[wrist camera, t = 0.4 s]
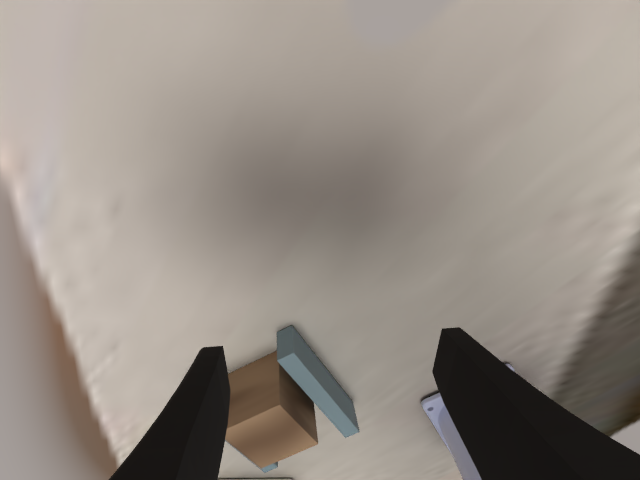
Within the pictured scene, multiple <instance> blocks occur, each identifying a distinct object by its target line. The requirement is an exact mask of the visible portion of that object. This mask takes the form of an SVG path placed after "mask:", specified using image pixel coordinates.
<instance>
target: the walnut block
mask: <svg viewBox="0 0 640 480" xmlns="http://www.w3.org/2000/svg"><path fill="white" fill-rule="evenodd" d="M228 378H229V384H230V390H231V392H230V405H229V417H228V426H227V431H226V437H225V440H226V441H227V442H228V443H230V444H231V445H232V446H233V447H234V448H236V449H237V450H238V451H239V452H241V453H242V454H243V455H244V456H246V457H247V458H248V459H249V460H251V461H252V462H253V463H254V464H256V465H257V466H258V467H259V468H260V469H262V468H264V467H266V466H268V465H271V464H273V463H275V462H278V461H280V460H282V459H285V458H287V457H289V456H292V455H294V454H296V453H298V452H301V451H303V450H305V449H308V448H310V447H312V446H315V445H317V444H318V438H317V429H316V420H315V411H314V402H313V401H312V400H311V398H310V397H309V396H308V395H307V394H306V393H305V392H304V391H303V389H302V388H301V387H300V386H299V385H298V384H297V383H296V381H295V380H294V379H293V378H292V377H291V376H290V375H289V374H288V372H287V371H286V370H285V369H284V368H283V367H282V366H281V365H280V363H279V362H278V361H277V351H275V352H273V353H271V354H269V355H267V356H265V357H262V358H260V359H258V360H256V361H254V362H252V363H250V364H248V365H246V366H244V367H242V368H240V369H238V370H236V371H234V372H231V373H229V374H228Z"/></svg>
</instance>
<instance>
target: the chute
mask: <svg viewBox="0 0 640 480" xmlns="http://www.w3.org/2000/svg"><path fill="white" fill-rule="evenodd" d="M277 361H278V362H279V363H280V365H281V366H282V367H283V368H284V369H285V370H286V371H287V372H288V374H289V375H290V376H291V377H292V378H293V379H294V380H295V381H296V383H297V384H298V385H299V386H300V387H301V388H302V389H303V391H304V392H305V393H306V394H307V395H308V396H309V397H310V398H311V400H312V401H313V402H314V403H315V404H316V405H317V406H318V407H319V409H320V410H321V411H322V412H323V413H324V414H325V415H326V416H327V418H328V419H329V420H330V421H331V422H332V423H333V424H334V425H335V427H336V428H337V429H338V430H339V431H340V432H341V433H342V434H343V436H344V437H345V438H346V437H349V436H351V435H353V434H355V433H358V432H359V427H358V423H357V418H356V414H355V409H354V405H353V402H352V401H351V399H350V398H349V397H348V396H347V394H346V393H345V392H344V391H343V389H342V388H341V387H340V385H339V384H338V383H337V382H336V380H335V379H334V378H333V377H332V375H331V374H330V373H329V372H328V370H327V369H326V368H325V366H324V365H323V364H322V363H321V361H320V360H319V359H318V358H317V356H316V355H315V354H314V353H313V351H312V350H311V349H310V347H309V346H308V345H307V344H306V342H305V341H304V340H303V339H302V337H301V336H300V335H299V333H298V332H297V331H296V330H295V328H294V327H293V326H292V325H291V326H289V327H287V328H285V329H283V330H281V331H279V332H277ZM225 441H226V440H225ZM226 442H227V441H226ZM227 443H228V442H227ZM229 444H230V443H229ZM230 445H231V444H230ZM231 446H232V445H231ZM232 447H233V446H232ZM235 449H236V448H235ZM236 450H237V449H236ZM237 451H238V450H237ZM238 452H239V451H238ZM240 453H241V452H240ZM241 454H242V453H241ZM242 455H243V454H242ZM243 456H244V455H243ZM245 457H246V456H245ZM246 458H247V457H246ZM247 459H248V458H247ZM248 460H249V459H248ZM250 461H251V460H250ZM251 462H252V461H251ZM252 463H253V462H252ZM253 464H254V463H253ZM255 465H256V464H255ZM256 466H257V465H256ZM257 467H258V466H257ZM277 467H278V462H275V463H273V464H271V465H268V466H266V467H264V468H262V469H261V470H262V471H263V472H264V473H265V472H268V471H270V470H272V469H275V468H277ZM258 468H259V467H258ZM259 469H260V468H259Z"/></svg>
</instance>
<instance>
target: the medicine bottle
mask: <svg viewBox="0 0 640 480" xmlns="http://www.w3.org/2000/svg"><path fill="white" fill-rule="evenodd" d="M219 480H292V479H219Z"/></svg>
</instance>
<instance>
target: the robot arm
mask: <svg viewBox="0 0 640 480" xmlns="http://www.w3.org/2000/svg"><path fill="white" fill-rule="evenodd" d="M432 372H433V375H434V378H435V381H436V384H437V387H438V389H439V392H440V393H437V394H435V395H433V396H431V397H428V398H426V399H424V400H423V401H422V402H421V405H422V407H423V409H424V411H425V412H426V414H427V415H428V417H429V419H430V420H431V422H432V423H433V425H434V427H435V428H436V430H437V432H438V433H439V435H440V436H441V438H442V440H443V441H444V443H445V444H446V446H447V448H448V449H449V451H450V453H451V454H452V455H453V458H454V460H455V462H456V464H457V467H458V469H459V471H460V473H461V476H462V478H463V480H640V455H639V454H637V453H636V452H634V451H632V450H631V449H629V448H627V447H625V446H624V445H622V444H620V443H618V442H617V441H615V440H613V439H612V438H610V437H608V436H607V435H605V434H603V433H602V432H600V431H598V430H597V429H595V428H594V427H592V426H590V425H589V424H587V423H586V422H584V421H583V420H581V419H580V418H578V417H576V416H575V415H573V414H572V413H570V412H569V411H567V410H566V409H564V408H563V407H561V406H560V405H558V404H557V403H556V402H554V401H553V400H551V399H550V398H549V397H547V396H546V395H544V394H543V393H542V392H540V391H539V390H538V389H536V388H535V387H533V386H532V385H531V384H529V383H528V382H527V381H525V380H524V379H523V378H522V377H520V376H519V375H518V374H516V373H515V371H514V368H513V367H512V366H511V364H504V363H503V362H501V361H500V360H499V359H498V358H496V357H495V356H494V355H493V354H491V353H490V352H489V351H488V350H487V349H485V348H484V347H483V346H482V345H480V344H479V343H478V342H477V341H476V340H474V339H473V338H472V337H471V336H470V335H468V334H467V333H466V332H465V331H463V330H462V329H461V328H459V327H458V328H446V329H442V331H441V335H440V340H439V344H438V349H437V353H436V358H435V362H434V367H433V371H432ZM230 392H231V390H230V384H229V378H228V372H227V367H226V361H225V355H224V350H223V346H217V347H204V348H202V349H201V350H200V351H199V353H198V355H197V357H196V358H195V360H194V362H193V364H192V365H191V367H190V369H189V370H188V372H187V374H186V375H185V377H184V379H183V380H182V382H181V383H180V385H179V387H178V388H177V390H176V391H175V393H174V394H173V396H172V397H171V399H170V400H169V402H168V403H167V405H166V406H165V408H164V409H163V411H162V412H161V413H160V415H159V416H158V418H157V419H156V420H155V422H154V423H153V424H152V426H151V427H150V428H149V430H148V431H147V433H146V434H145V435H144V437H143V438H142V439H141V441H140V442H139V443H138V445H137V446H136V447H135V448H134V450H133V451H132V452H131V454H130V455H129V456H128V457H127V458H126V460H125V461H124V462H123V463H122V465H121V466H120V467H119V468H118V469H117V471H116V472H115V473H114V474H113V475H112V477H111V478H110V479H109V480H217V479H218V474H219V468H220V463H221V458H222V453H223V447H224V442H225V437H226V431H227V426H228V417H229V405H230Z"/></svg>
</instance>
